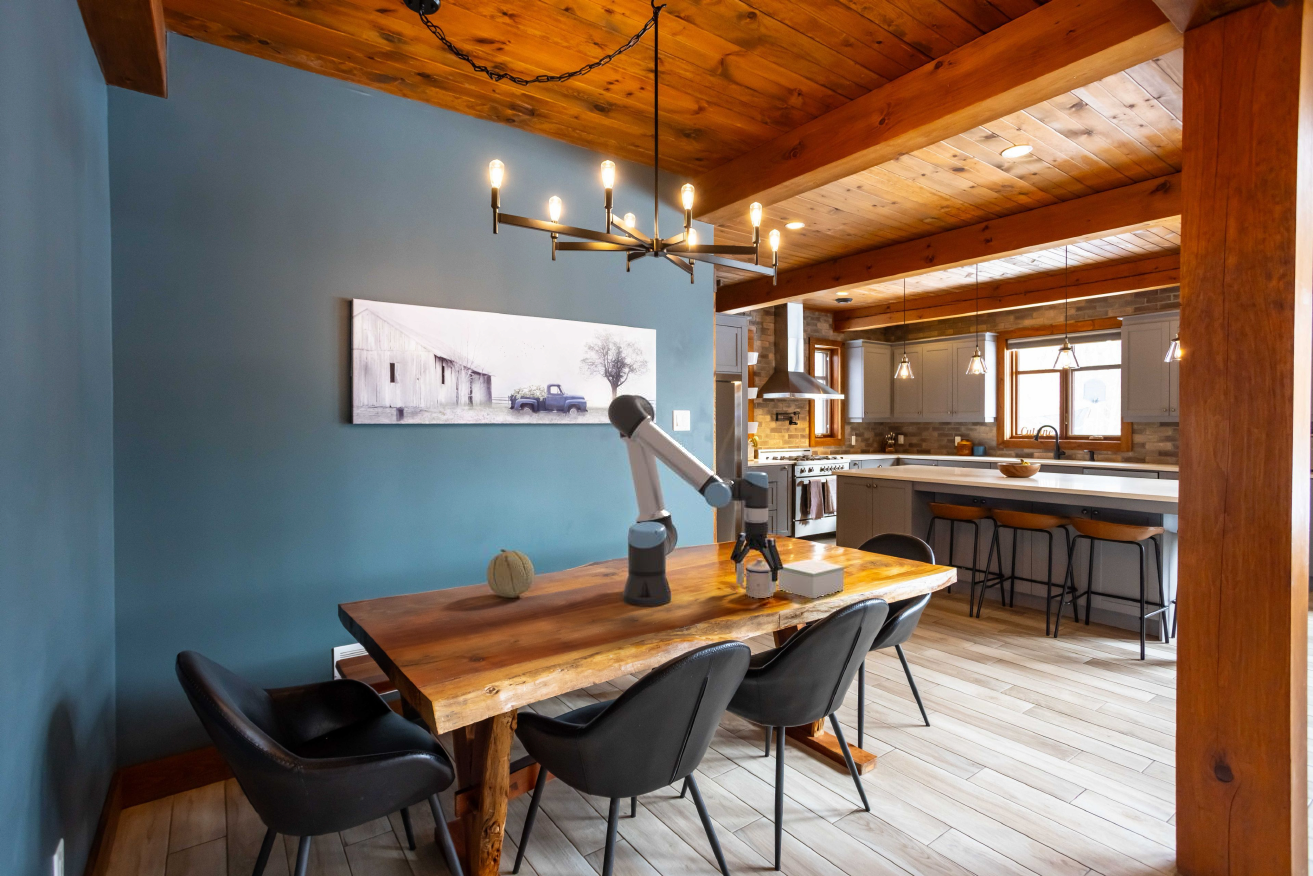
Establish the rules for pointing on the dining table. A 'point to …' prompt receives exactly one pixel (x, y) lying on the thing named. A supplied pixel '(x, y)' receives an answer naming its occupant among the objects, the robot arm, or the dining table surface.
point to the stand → (811, 578)
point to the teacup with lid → (757, 580)
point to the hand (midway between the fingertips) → (755, 587)
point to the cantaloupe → (510, 573)
